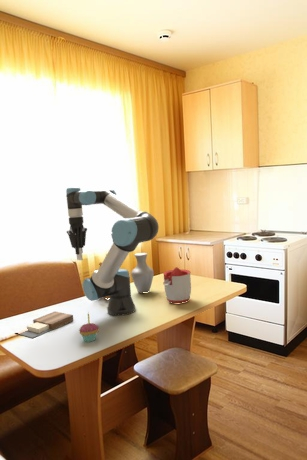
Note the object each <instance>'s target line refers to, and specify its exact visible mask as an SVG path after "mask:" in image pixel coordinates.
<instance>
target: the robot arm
mask: <svg viewBox="0 0 307 460" xmlns="http://www.w3.org/2000/svg"><path fill="white" fill-rule="evenodd" d="M65 190H66V196H65V197H66V204H67V213H68V224H69V225H70V227H69V230H66V234H67V235H68V238H69V242H70V245H71V248H72V249H75V251H74V252H75V255H76V260H77V261H82V260H83V253H84V252H83V248H84V247H85V246H86V239H87V237H86V235H87V231H88V228H87V227H84V217H83V215H84V214H83V213H84V212H83V206H91V205H102V204H103V205H104V206H105V207H107V208H108V209H110V210H112V211H113V212H114V213H116V214H118V215H119V216H120V217H122V219H119V220H117V221H115V222H114V224H113V226H112V227H111V233H110V234H111V235H110V236H111V238H112V244H111V247H110V248H109V250H108V252H107V254H106V256H105V257H104V259H103V261H102V262H101V263H102V264H101V266H100V265H99V267H100V268H98V269H96V270H94V272H93V273H92V274H91V276H90V277H88V278H85V279H83V281H82V290H83V293H84V295H85V298H86V299H87V300H89V301H91V302H94V301H98V300H101V299H103V298H104V297H107V296H110V299H109V300H108V304H107V308H106V311H107V314H108V315H111V316H127V315H129V313H130V314H132V313H134V312H135V311H136V304H135V303H134V301H133V297H132V293H131V292H132V291H131V275H130V271H129V270H128V269H125V268H124V269H123V268H121V266H122V265H123V263H125V260H126V259H127V257H128V255H129V253H133V252H134V251H135V250H136V248H137V247H138V245H139V244H140V243H145V242H149V241H151V240H153V239H155V237H157V234H158V232H159V228H160V227H159V222H158V220H157V219H156V217H154V215H152V214H151V213H149V212H147V211H142V210H141V209H138V208H137V207H136V206H134V205H132V204H130V202H128V201H126V200H124V199H123V198H121V197H119V196H118V195H117V193H116V191H115V189H113V188H105V189H104V188H102V189H83V190H81V188H80V187H78V186H77V187H68V188H66V189H65ZM134 310H135V311H134ZM133 311H134V312H133ZM131 312H132V313H131Z"/></svg>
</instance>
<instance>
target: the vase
mask: <svg viewBox="0 0 307 460" xmlns="http://www.w3.org/2000/svg"><path fill="white" fill-rule="evenodd" d="M147 256H148V253H147V252H138V253H135V254H134V257H135V259H136V266H135V267H134V268H133V269H132V270H131V272H130V277H131V279H132V281H133V285H134V286H135V288H136V290H137V292H140V293H143V292H148V291H149V292H150V289H151V287H152V283H153V278H154V273H155V272H154V269H153V268H152V267H150V266H149V265H148V264H147Z"/></svg>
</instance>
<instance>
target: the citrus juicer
mask: <svg viewBox="0 0 307 460" xmlns="http://www.w3.org/2000/svg"><path fill="white" fill-rule="evenodd" d="M162 274H163V285H164V293H165V296H166V298H167V299H166V300H167V301H168V303H169V302H172V303H182V302H186V301H188V300H189V301H190V300H191V299H190V298H191V294H192V293H191V292H192V282H191V279H192V278H191V270H188V269H180V267H179V268H178V266H177V267H174V269H169V270H166V271H164V272H163V273H162ZM189 301H188V302H189ZM172 303H171V304H172ZM186 303H187V302H186ZM182 304H183V303H182Z"/></svg>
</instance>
